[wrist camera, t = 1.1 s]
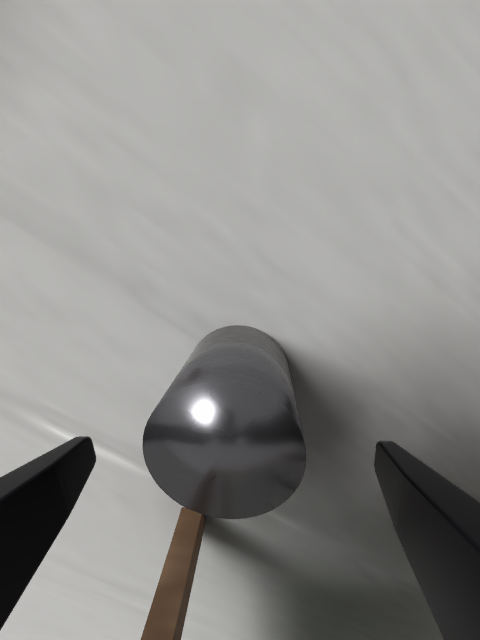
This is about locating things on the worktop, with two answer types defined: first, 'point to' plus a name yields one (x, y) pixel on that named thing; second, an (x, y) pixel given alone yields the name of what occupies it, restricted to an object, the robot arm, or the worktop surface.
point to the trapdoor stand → (176, 580)
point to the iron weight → (228, 428)
